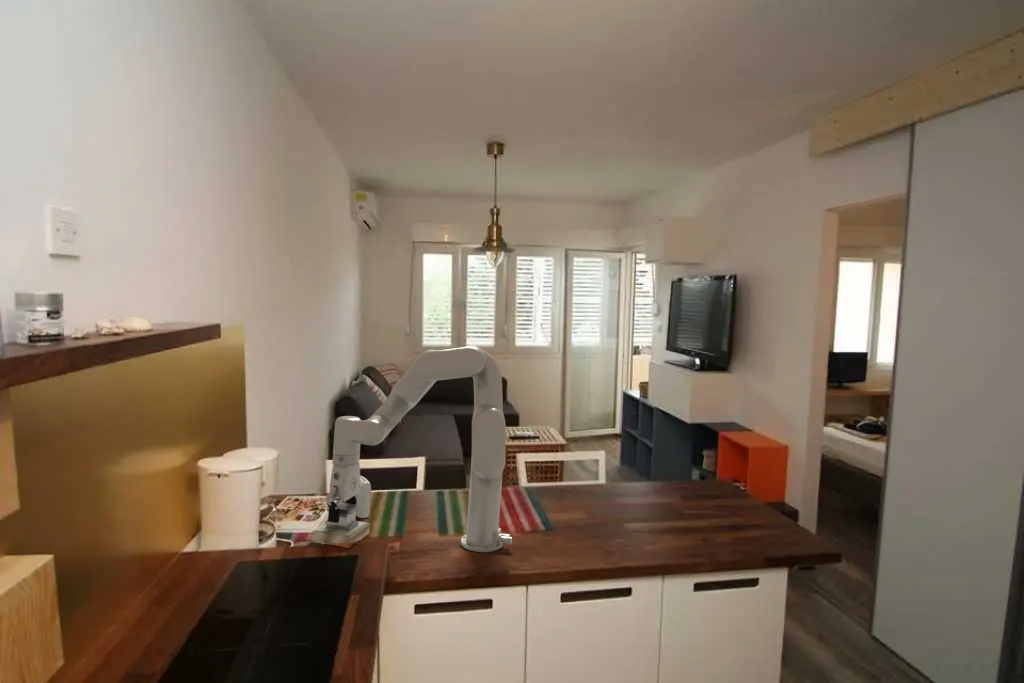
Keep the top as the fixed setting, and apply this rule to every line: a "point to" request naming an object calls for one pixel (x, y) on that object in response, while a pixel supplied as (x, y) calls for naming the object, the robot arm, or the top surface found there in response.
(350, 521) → the steel housing
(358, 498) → the photo printer
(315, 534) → the pale green flat tray
